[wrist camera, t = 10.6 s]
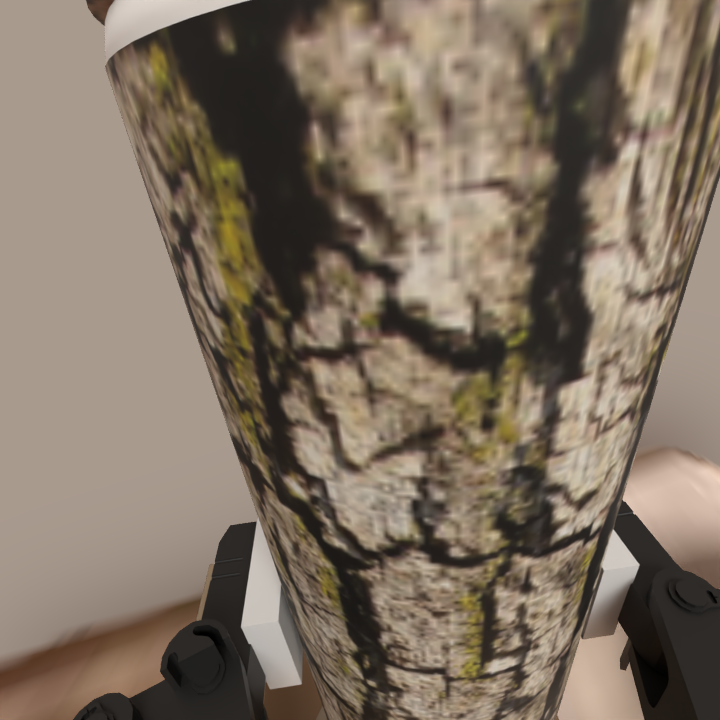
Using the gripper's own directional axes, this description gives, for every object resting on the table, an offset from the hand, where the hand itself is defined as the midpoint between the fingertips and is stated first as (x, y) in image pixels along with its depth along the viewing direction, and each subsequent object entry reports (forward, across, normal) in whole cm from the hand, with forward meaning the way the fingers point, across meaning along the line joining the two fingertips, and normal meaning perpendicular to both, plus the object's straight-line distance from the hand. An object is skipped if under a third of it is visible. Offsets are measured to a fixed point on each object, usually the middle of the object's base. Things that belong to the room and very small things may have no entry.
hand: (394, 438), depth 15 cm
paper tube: (-5, 0, -14) cm, 15 cm away
